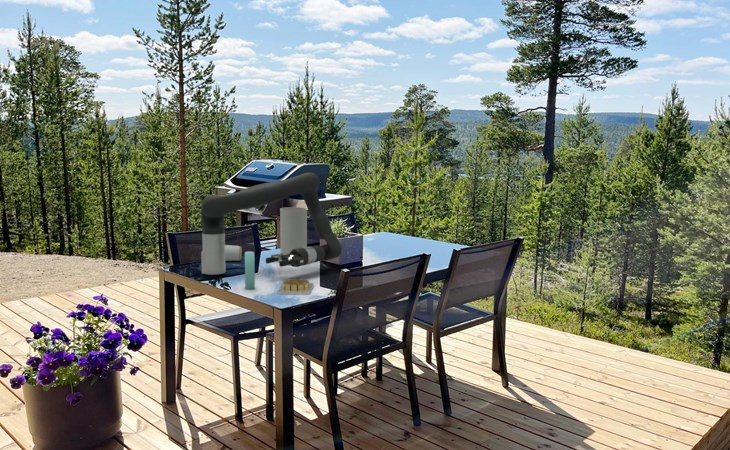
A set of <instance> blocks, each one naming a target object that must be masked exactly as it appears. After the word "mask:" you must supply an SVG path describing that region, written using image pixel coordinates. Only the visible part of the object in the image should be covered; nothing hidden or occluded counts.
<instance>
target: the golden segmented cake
mask: <svg viewBox="0 0 730 450" xmlns="http://www.w3.org/2000/svg"><path fill="white" fill-rule="evenodd" d="M314 285H315V284H314V282H310V281H309V280H308V279H304V278H303V279H302V278H292V279H291V278H289V279H285V280H283V281H282V284H281V286H280V287H279V288H278V290H277V293H276V294H277V295H309V296H310V295H311V293H312V290H313V288H314Z"/></svg>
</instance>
